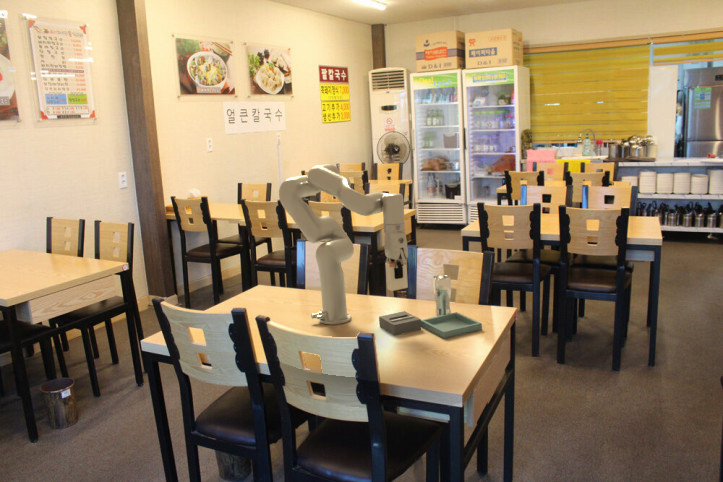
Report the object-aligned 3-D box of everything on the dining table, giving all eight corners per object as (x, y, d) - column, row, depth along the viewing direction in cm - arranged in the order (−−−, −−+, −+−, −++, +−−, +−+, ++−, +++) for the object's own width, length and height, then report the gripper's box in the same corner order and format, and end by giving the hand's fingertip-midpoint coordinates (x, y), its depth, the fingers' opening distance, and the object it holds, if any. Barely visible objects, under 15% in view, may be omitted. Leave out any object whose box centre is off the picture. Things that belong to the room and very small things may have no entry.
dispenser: (394, 335, 218) (394, 323, 217) (379, 326, 229) (378, 315, 228) (421, 329, 222) (420, 317, 221) (405, 321, 233) (404, 309, 232)
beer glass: (451, 316, 235) (450, 279, 232) (433, 316, 236) (431, 279, 233) (452, 311, 241) (451, 274, 239) (434, 311, 243) (433, 274, 240)
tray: (444, 338, 211) (443, 332, 211) (420, 326, 226) (420, 320, 225) (481, 329, 218) (481, 323, 217) (456, 318, 232) (456, 312, 232)
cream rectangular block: (391, 291, 220) (389, 264, 218) (387, 289, 223) (385, 262, 221) (407, 287, 223) (406, 261, 221) (403, 285, 226) (402, 259, 224)
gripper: (414, 229, 213) (416, 280, 216) (392, 223, 227) (395, 271, 231) (395, 232, 210) (398, 283, 213) (374, 226, 224) (377, 274, 228)
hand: (396, 276), depth 222 cm, fingers closed on cream rectangular block, 2 cm apart
